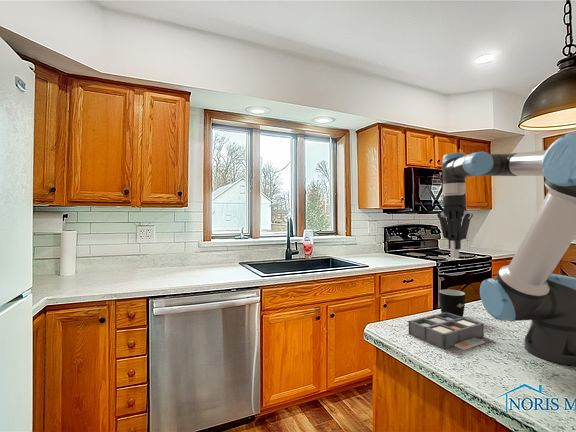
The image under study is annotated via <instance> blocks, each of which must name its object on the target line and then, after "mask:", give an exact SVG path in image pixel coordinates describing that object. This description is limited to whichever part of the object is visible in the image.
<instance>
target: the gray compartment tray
mask: <svg viewBox="0 0 576 432" xmlns="http://www.w3.org/2000/svg"><path fill="white" fill-rule="evenodd" d="M446 317H448V318H451V319H454V320H449V319H446ZM461 320H465V321H468V322H471V323H474V324H475V325H472V326H467V325H464V324H461V323H458V321H461ZM422 323H426V324H429V325H431V326H427V327H426V326H423V325H420V324H422ZM451 325H452V326H455V327H458V328H461V329H458V330H457V329H454V328H451V327H448V326H451ZM439 326H441V327H444V328H446V329H449V330H452V331H451V332H448V333H441V332H439V331H436V330H433V329H431V328H435V327H439ZM484 332H485V330H484V323H483V322H479V321H476V320H473V319H470V318H467V317H464V316H463V317H461V316H457V315H454V314H451V313H448V312H444V313H436V314H433V315H428V316H424V317H419V318H415V319H410V320H408V335H411V336H412V337H416V338H418V339H420V340H422V341H425V342H427V343H429V344H431V345H434V346H436V347H438V348H441V349H443V350H447V349H450V348H453V347H456V348H458V349H460V350H463V351H466V350H468V349H472V348H474V347H476V346H479V345H483V344H485V342H486V341H485V340H483V339H482V338H484V336H485V333H484Z"/></svg>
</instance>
